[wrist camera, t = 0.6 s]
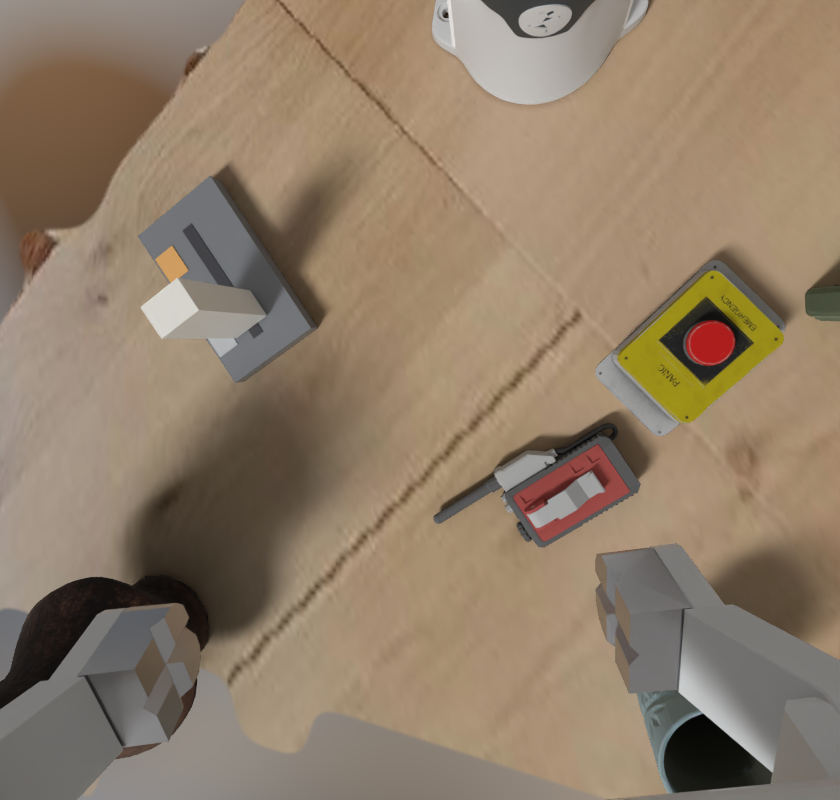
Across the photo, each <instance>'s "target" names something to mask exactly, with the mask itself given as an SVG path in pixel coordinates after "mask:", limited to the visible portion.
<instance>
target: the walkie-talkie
mask: <svg viewBox="0 0 840 800" xmlns="http://www.w3.org/2000/svg"><path fill="white" fill-rule="evenodd" d="M606 428H612V430H613V433H612V434H611V435H610V436H609V437H607V436H606V435H605V434H604V433H600V432H601V431H602V430H604V429H606ZM617 433H618V431H617V428H616V426H614V425H613V424H611V423H607V424H603V425H601V426H599V427H598V428H596V429H595V430H593V431H591V432H590V433H588V434H587V435H585V436H583V437H582V438H580V439H579V440H577V441H575V442H574V443H572V444H570V445H568V446H567V447H564V448H558V449H555V450H554V449H553V448H552V449H550V450H549V451H534V450H527V451H525V452H524V453H522V454H520V455H519V456H517V457H516V458H514V459H512V460H511V461H509V462H508V463H506V464H504V465H503V466H498V467H497V468H495V469H494V475H495V476H494V477H492V478H490V479H489V480H487V481H486V483H485V484H483V485H482V486H480V487H479V488H477V489H475V490H474V491H472V492H471V493H469V494H467V495H466V496H464V497H463V498H461V499H460V500H458V501H456V502H455V503H453V504H452V505H450V506H448V507H447V508H445V509H444V510H442V511H440V512H439V513H437V514H436V515H435V516H434V521H435V522H436V523H437V524H440V523H442V522H444V521H445V520H447V519H448V518H450V517H452V516H453V515H455V514H456V513H458V512H460V511H461V510H463V509H464V508H466V507H468V506H469V505H471V504H472V503H474V502H476V501H477V500H479V499H481V498H482V497H484V496H485V495H487V494H489V493H490V492H495V491H496V490H498V489H500V488H501V487H503V488H504V490H505V492H504V494H503V495H502V496H501V498H502V500H503V502H504V503H506V502H508V504H507V505H505V508H506V510H507V511H508V512H509V513H510V512H512V511H513V512H514V513H515V514H516V516H517V517H518V519H519V520H520V522H518V523H517V528H518V530H519V532H520V534H521V535H522V537H523V538H524V539H525V540H526V541H527V542H530V541H531V540H532V539H533V541H534V542H535V543H536V544H537V546H538V547H546V546H547V545H549V544H551V543H552V542H554V541H556V540H558V539H559V538H561V537H563V536H564V535H566V534H568V533H570V532H571V531H573V530H575V529H577V528H578V527H580V526H582V525H583V523H585V522H586V523H587V522H588V521H589V520H590V519H591V520H592V519H593V518H594V517H595V516H596V517H597V516H598V515H599V514H602V513H603V512H604V511H607V510H608V509H609V508H612V507H613V506H614V505H618V503H619V502H623V500H625V499H628V497H630V496H633V494H635V493H638V490H639V487H640V485H641V484H640V482H639V481H638V479H637V478H636V477H635V475H634V474H633V472H632V471H631V469H630V468H629V466H628V465H627V463H626V462H625V460H624V459H623V458H622V456H621V455H620V453H619V452H618V450H617V449H616V447H615V446H614V444H613V443H612V440H613V439H615V437H616V436H617ZM558 453H561V454H559V455H557V454H558Z"/></svg>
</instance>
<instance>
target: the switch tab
mask: <svg viewBox="0 0 840 800" xmlns="http://www.w3.org/2000/svg"><path fill="white" fill-rule="evenodd" d="M141 309H142V310H143V312H144V313H145V315H146V316H147V318H148V319H149V321H150V322H151V324H152V325H153V327H154V328H155V330H156V331H157V333H158V334H159V336H160V337H161V339H203V338H238V337H239V336H240V335H242V334H243V333H244V332H246V331H247V330H248V329H250V328H251V327H252V326H254V325H255V324H256V323H258V322H259V321H260V320H262V319H263V318H264V317H266V316H267V315H266V313H265V312H264V310H263V309H262V307H261V306H260V304H259V303H258V301H257V300H256V298H255V297H254V295H253V294H252V292H251V291H250V290H245V289H239V288H233V287H228V286H222V285H216V284H210V283H205V282H199V281H193V280H187V279H182V278H176V279H175V280H174V281H173V282H171V283H170V284H169V285H168V286H166V287H165V288H164V289H163V290H161V291H160V292H159V293H158V294H156V295H155V296H154V297H153V298H151V299H150V300H149V301H148V302H146V303H145V304H144V305H143V306H141Z"/></svg>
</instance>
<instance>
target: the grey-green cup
mask: <svg viewBox="0 0 840 800" xmlns="http://www.w3.org/2000/svg"><path fill="white" fill-rule="evenodd" d="M637 696H638V700H639V704H640V708H641V712H642V714H643V716H644V722H645V725H646V729H647V732H648V736H649V739H650V743H651V746H652V749H653V752H654V756H655V760H656V763H657V767H658V770H659V774H660V777H661V779H662V782H663V784H664V786H665V788H666V790H667V792H668V794H670V793H681V792H691V791H702V790H712V789H723V788H733V787H744V786H754V785H765V784H771V778H772V772H771V771H770V770H769V769H768V768H766V767H765V766H764V765H763V764H762V763H761V762H759V761H758V760H757V759H756V758H755V757H754V756H752V755H751V754H750V753H749V752H748V751H747V750H745V749H744V748H743V747H742V746H741V745H740V744H738V743H737V742H736V741H735V740H734V739H733V738H731V737H730V736H729V735H728V734H727V733H726V732H724V731H723V730H722V729H721V728H720V727H719V726H717V725H716V724H715V723H714V722H713V721H712V720H710V719H709V718H708V717H707V716H706V715H705V714H703V713H702V712H701V711H700V710H699V709H698V708H696V707H695V706H694V705H693V704H692V703H691V702H689V701H688V700H687V699H686V698H685V697H684V696H682V695H681V694H680V693H679V690H668V691H655V692H642V693H637Z"/></svg>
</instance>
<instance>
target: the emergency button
mask: <svg viewBox="0 0 840 800" xmlns="http://www.w3.org/2000/svg"><path fill="white" fill-rule="evenodd" d="M784 329H785V324H784V322H783V320H782V319H781V318H780V317H779V316H778V315H777V314H776V313H775V312H774V311H773V310H772V309H771V308H770V307H769V306H768V305H767V304H766V303H765V302H764V301H763V300H762V299H761V298H760V297H759V296H758V295H757V294H756V293H755V292H754V291H752V290H751V289H750V288H749V287H748V286H747V285H746V284H745V283H744V282H743V281H742V280H741V279H740V278H739V277H738V276H737V275H736V274H735V273H734V272H733V271H732V270H731V269H730V268H729V267H728V266H727V265H726V264H725V263H724V262H722V261H720V260H713V261H710V262H709V263H707V264H706V265H704V266H703V267H702V268H701V269H700V270H699V271H698V272H697V273H696V274H695V275H694V276H693V277H692V278H691V279H689V280H688V281H687V282H686V283H685V284H684V285H683V286H682V287H681V288H680V289H679V290H678V291H677V292H675V293H674V294H673V295H672V296H671V297H670V298H669V299H668V300H667V301H666V302H665V303H664V304H663V305H662V306H660V307H659V308H658V309H657V310H656V311H655V312H654V313H653V314H652V315H651V316H650V317H649V318H648V319H647V320H645V321H644V322H643V323H642V324H641V325H640V326H639V327H638V328H637V329H636V330H635V331H634V332H633V333H632V334H630V335H629V336H628V337H627V338H626V339H625V340H624V341H623V342H622V343H621V344H620V345H619V346H618V347H616V348H615V349H614V350H613V351H612V352H611V353H610V354H609V355H608V356H607V357H606V358H605V359H604V360H603V361H601V362H600V363H599V365H598V366H597V368H596V372H595V375H596V377H597V378H598V380H599V381H600V382H601V383H602V384H603V385H604V386H605V387H606V388H607V389H608V390H609V391H610V392H611V393H612V394H613V395H615V396H616V397H617V398H618V399H619V400H620V401H621V402H622V403H623V404H624V405H625V406H626V407H627V408H628V409H629V410H630V411H631V412H632V413H633V414H634V415H635V416H636V417H637V418H638V419H639V420H640V421H641V422H642V423H643V424H644V425H645V426H646V427H647V428H648V429H649V430H650V431H651V432H652V433H653V434H655V435H657V436H664V435H666V434H668V433H669V432H671V431H672V430H673V429H674V428H675V427H676V426H677V425H679V424H680V423H690V422H692V421H694V420H695V419H696V418H697V417H698V416H700V415H701V414H702V413H703V412H704V411H705V410H706V409H708V408H709V407H710V406H711V405H712V404H713V403H715V402H716V401H717V400H718V399H719V398H720V397H722V396H723V395H724V394H725V393H726V392H727V391H728V390H730V389H731V388H732V387H733V386H734V385H735V384H737V383H738V382H739V381H740V380H741V379H742V378H744V377H745V376H746V375H747V374H748V373H749V372H750V371H752V370H753V369H754V368H755V367H756V366H757V365H759V364H760V363H761V362H762V361H763V360H764V359H766V358H767V357H768V356H769V355H770V354H771V353H772V352H774V351H775V350H776V349H777V348H778V347H779V346H781V344H782V343H783V341H784V335H783V332H784Z"/></svg>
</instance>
